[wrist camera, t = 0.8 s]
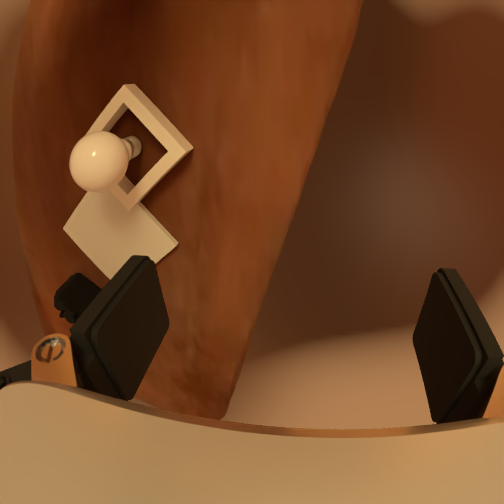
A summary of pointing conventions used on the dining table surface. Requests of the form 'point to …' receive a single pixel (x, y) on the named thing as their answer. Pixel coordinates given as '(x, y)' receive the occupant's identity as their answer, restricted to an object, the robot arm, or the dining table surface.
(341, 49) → the dining table surface
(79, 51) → the dining table surface
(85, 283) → the film camera
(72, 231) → the felt mat
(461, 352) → the robot arm
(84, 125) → the dining table surface
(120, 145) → the lightbulb
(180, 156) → the socket collar
